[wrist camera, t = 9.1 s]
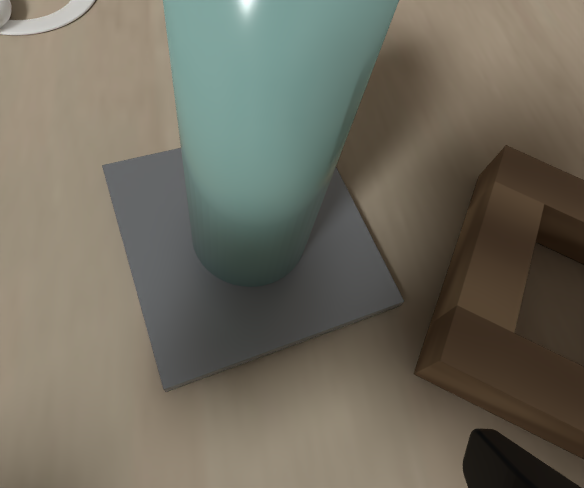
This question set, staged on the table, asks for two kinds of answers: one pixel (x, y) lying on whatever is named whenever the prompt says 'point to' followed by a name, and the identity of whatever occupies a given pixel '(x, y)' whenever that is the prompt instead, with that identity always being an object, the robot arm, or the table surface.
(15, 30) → the teacup and saucer
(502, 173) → the pocket block
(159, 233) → the coaster
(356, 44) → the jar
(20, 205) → the table surface
